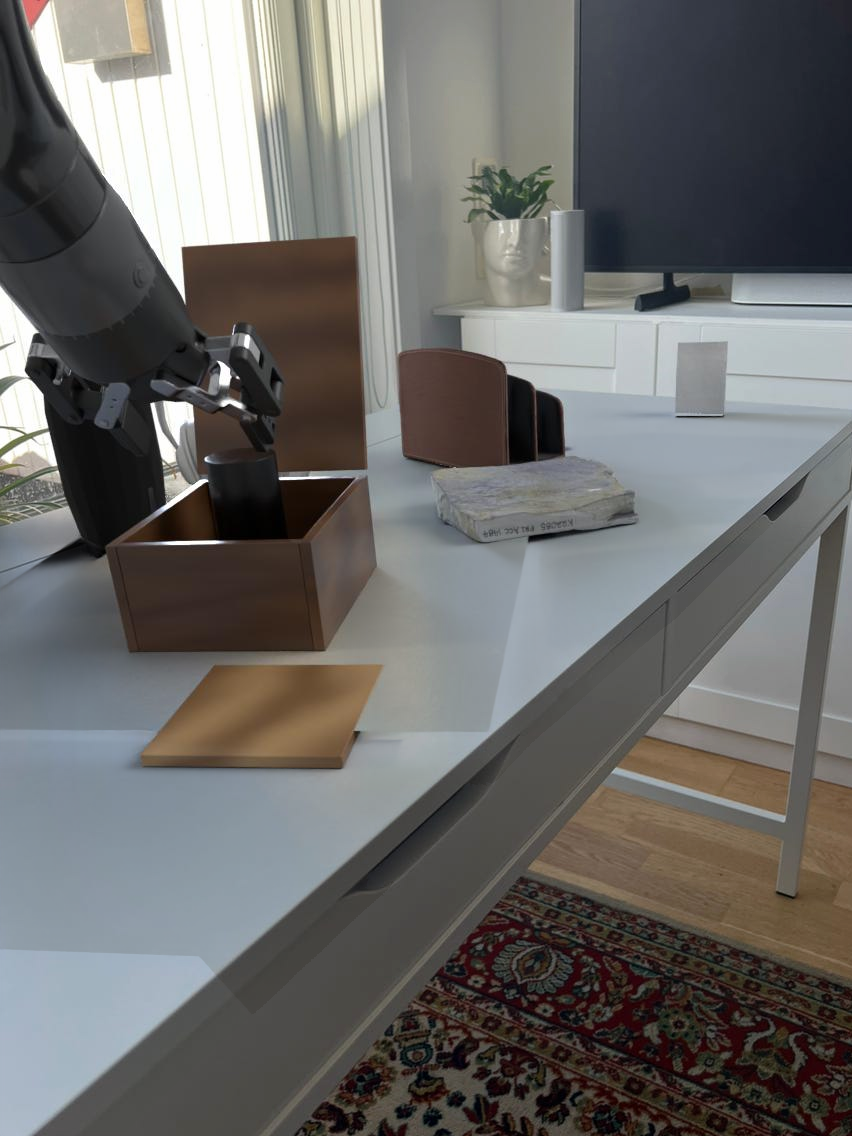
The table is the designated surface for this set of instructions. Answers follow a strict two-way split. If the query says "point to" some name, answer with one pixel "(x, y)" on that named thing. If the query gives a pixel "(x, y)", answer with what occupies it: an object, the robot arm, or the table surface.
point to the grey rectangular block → (701, 377)
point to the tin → (246, 495)
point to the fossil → (531, 498)
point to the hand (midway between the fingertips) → (204, 442)
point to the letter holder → (474, 411)
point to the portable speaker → (105, 476)
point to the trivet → (267, 717)
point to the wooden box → (245, 572)
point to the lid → (288, 343)
